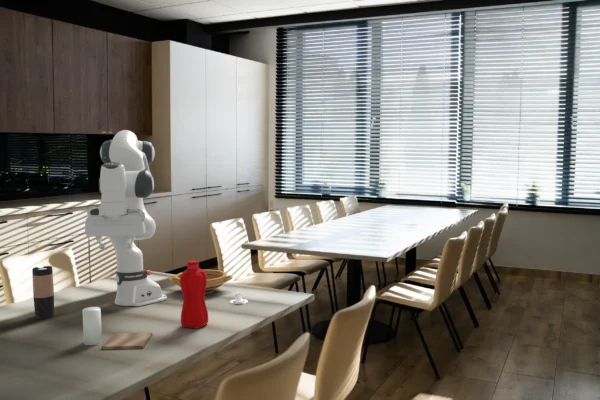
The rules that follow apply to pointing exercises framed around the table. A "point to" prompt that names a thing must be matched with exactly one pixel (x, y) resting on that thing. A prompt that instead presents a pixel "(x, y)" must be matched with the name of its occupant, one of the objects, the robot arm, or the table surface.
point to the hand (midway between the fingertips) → (116, 248)
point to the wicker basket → (208, 279)
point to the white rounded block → (92, 326)
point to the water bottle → (193, 296)
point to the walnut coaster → (127, 341)
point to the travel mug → (43, 292)
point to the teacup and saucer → (238, 299)
